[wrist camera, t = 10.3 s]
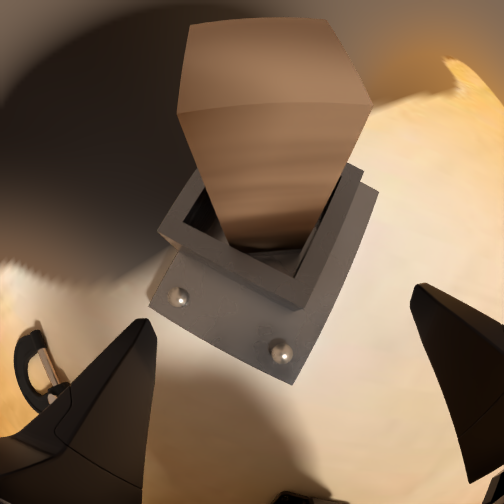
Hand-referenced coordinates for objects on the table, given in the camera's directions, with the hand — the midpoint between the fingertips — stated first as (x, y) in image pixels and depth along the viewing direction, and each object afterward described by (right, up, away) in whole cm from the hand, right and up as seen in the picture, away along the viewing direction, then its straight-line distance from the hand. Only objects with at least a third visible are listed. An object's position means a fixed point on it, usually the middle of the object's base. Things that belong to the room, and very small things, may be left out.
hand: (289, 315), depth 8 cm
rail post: (0, +4, +9) cm, 10 cm away
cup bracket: (0, +2, +10) cm, 10 cm away
